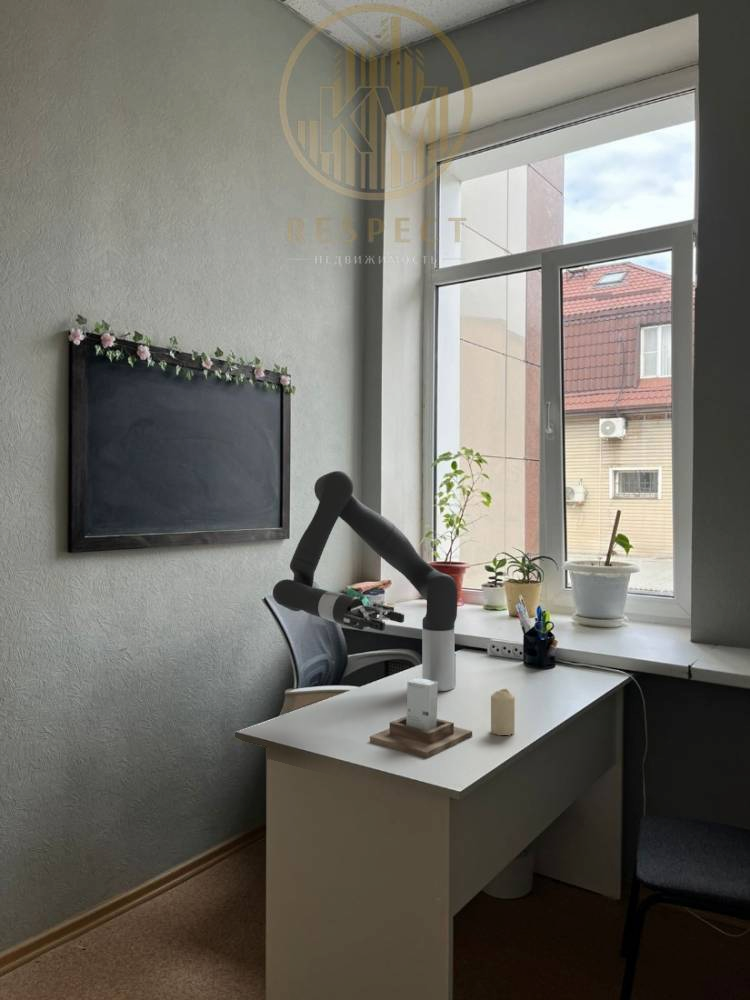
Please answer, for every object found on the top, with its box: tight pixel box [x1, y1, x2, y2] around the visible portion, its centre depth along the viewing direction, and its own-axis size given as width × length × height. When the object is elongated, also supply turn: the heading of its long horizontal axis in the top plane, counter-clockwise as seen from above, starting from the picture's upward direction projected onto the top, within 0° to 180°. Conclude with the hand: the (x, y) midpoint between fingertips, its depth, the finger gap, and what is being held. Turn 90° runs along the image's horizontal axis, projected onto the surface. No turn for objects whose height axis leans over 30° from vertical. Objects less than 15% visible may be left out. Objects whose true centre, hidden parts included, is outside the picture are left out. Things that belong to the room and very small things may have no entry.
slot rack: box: [369, 715, 473, 759], centre depth 169 cm, size 18×16×4 cm
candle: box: [490, 688, 516, 736], centre depth 174 cm, size 6×6×10 cm
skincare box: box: [406, 677, 439, 731], centre depth 170 cm, size 6×4×12 cm
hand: (394, 622), depth 178 cm, fingers open, 8 cm apart
